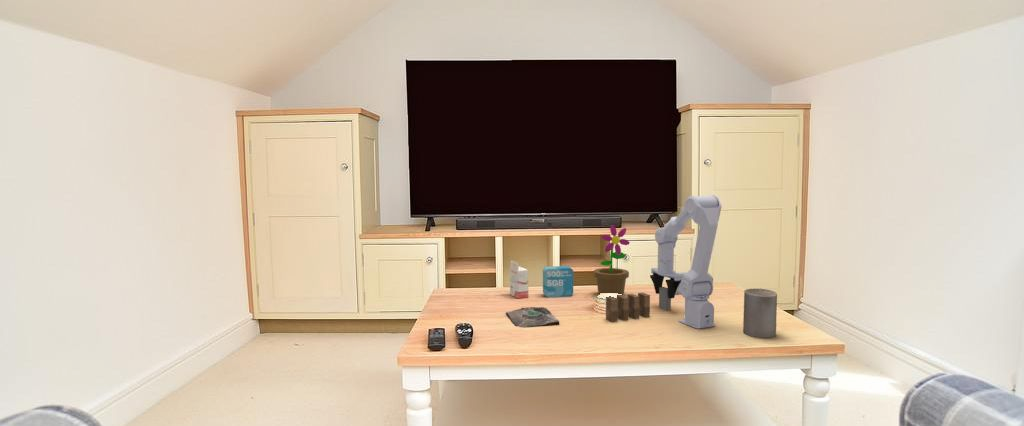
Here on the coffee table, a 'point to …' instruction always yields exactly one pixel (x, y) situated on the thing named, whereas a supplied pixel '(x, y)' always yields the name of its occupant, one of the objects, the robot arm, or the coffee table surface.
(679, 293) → the medicine box
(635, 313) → the tile
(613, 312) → the tile
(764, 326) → the pillar candle
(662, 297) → the tile
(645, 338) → the coffee table surface
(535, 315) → the terrain model
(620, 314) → the tile
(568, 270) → the data package
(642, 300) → the tile
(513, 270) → the ink cartridge box
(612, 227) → the flowerpot
